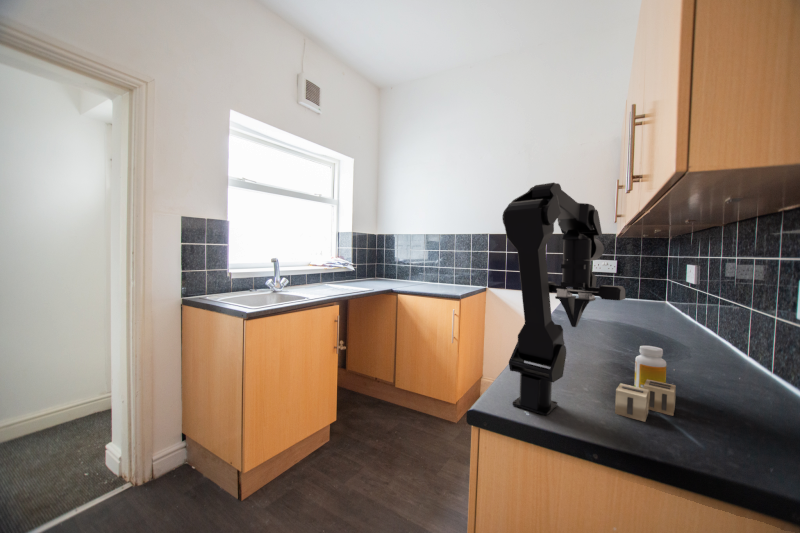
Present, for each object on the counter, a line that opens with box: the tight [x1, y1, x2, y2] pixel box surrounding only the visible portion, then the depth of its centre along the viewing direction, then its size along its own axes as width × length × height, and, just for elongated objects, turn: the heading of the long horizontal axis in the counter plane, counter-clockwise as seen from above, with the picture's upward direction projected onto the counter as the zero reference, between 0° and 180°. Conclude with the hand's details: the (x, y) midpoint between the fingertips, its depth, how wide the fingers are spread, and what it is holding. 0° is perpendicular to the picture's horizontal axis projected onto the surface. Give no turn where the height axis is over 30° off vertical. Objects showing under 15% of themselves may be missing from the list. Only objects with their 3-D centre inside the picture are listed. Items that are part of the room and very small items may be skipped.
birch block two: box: [644, 379, 677, 416], centre depth 64 cm, size 5×4×5 cm
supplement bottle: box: [633, 345, 667, 389], centre depth 72 cm, size 5×5×10 cm
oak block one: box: [614, 382, 649, 423], centre depth 62 cm, size 5×4×5 cm
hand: (574, 326), depth 78 cm, fingers closed
